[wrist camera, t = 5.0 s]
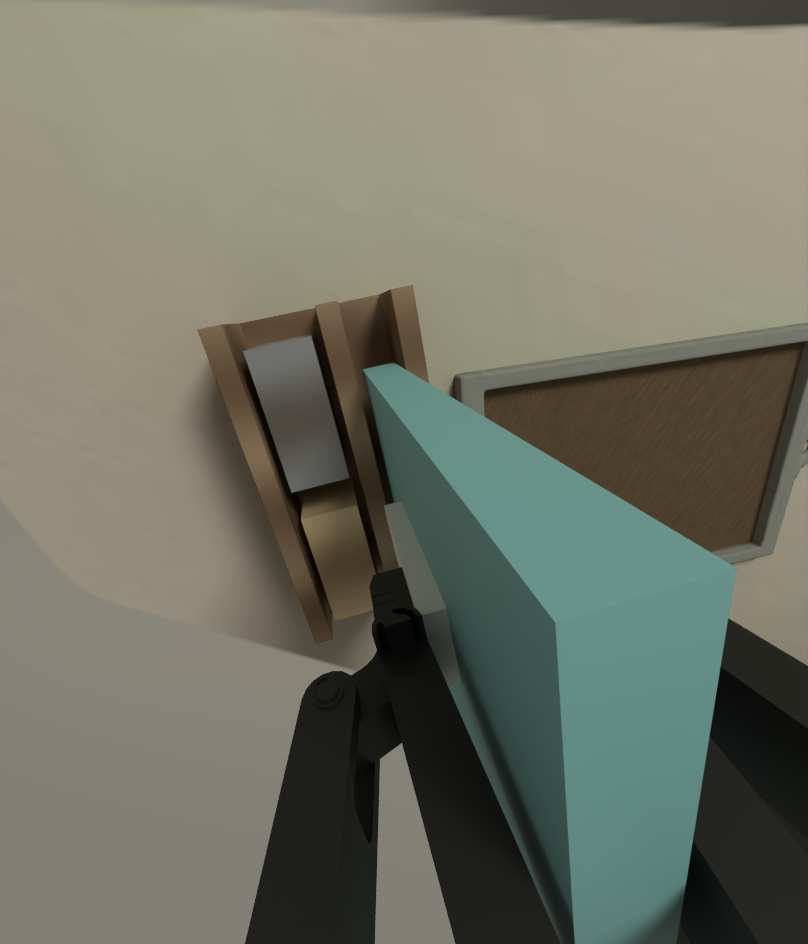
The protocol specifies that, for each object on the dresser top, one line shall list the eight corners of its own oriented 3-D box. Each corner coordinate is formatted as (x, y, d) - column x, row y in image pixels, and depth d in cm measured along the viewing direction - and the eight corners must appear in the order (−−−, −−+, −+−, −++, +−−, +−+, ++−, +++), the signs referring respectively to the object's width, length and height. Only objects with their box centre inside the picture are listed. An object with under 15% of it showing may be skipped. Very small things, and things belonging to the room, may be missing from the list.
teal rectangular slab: (432, 558, 24) (657, 1059, 8) (407, 565, 24) (583, 1091, 8) (393, 362, 20) (735, 566, 3) (362, 369, 20) (554, 622, 3)
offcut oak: (376, 568, 27) (384, 607, 24) (334, 580, 27) (335, 621, 23) (352, 477, 24) (357, 505, 21) (304, 489, 24) (300, 520, 21)
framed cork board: (459, 376, 23) (874, 315, 27) (451, 373, 25) (846, 315, 29) (473, 624, 31) (799, 549, 35) (466, 610, 32) (780, 539, 36)
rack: (443, 555, 29) (465, 599, 24) (317, 590, 28) (316, 643, 24) (394, 292, 22) (412, 284, 17) (224, 327, 21) (197, 329, 17)
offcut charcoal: (345, 453, 24) (349, 478, 20) (296, 465, 24) (291, 492, 20) (313, 333, 21) (311, 336, 17) (257, 345, 21) (243, 351, 17)
